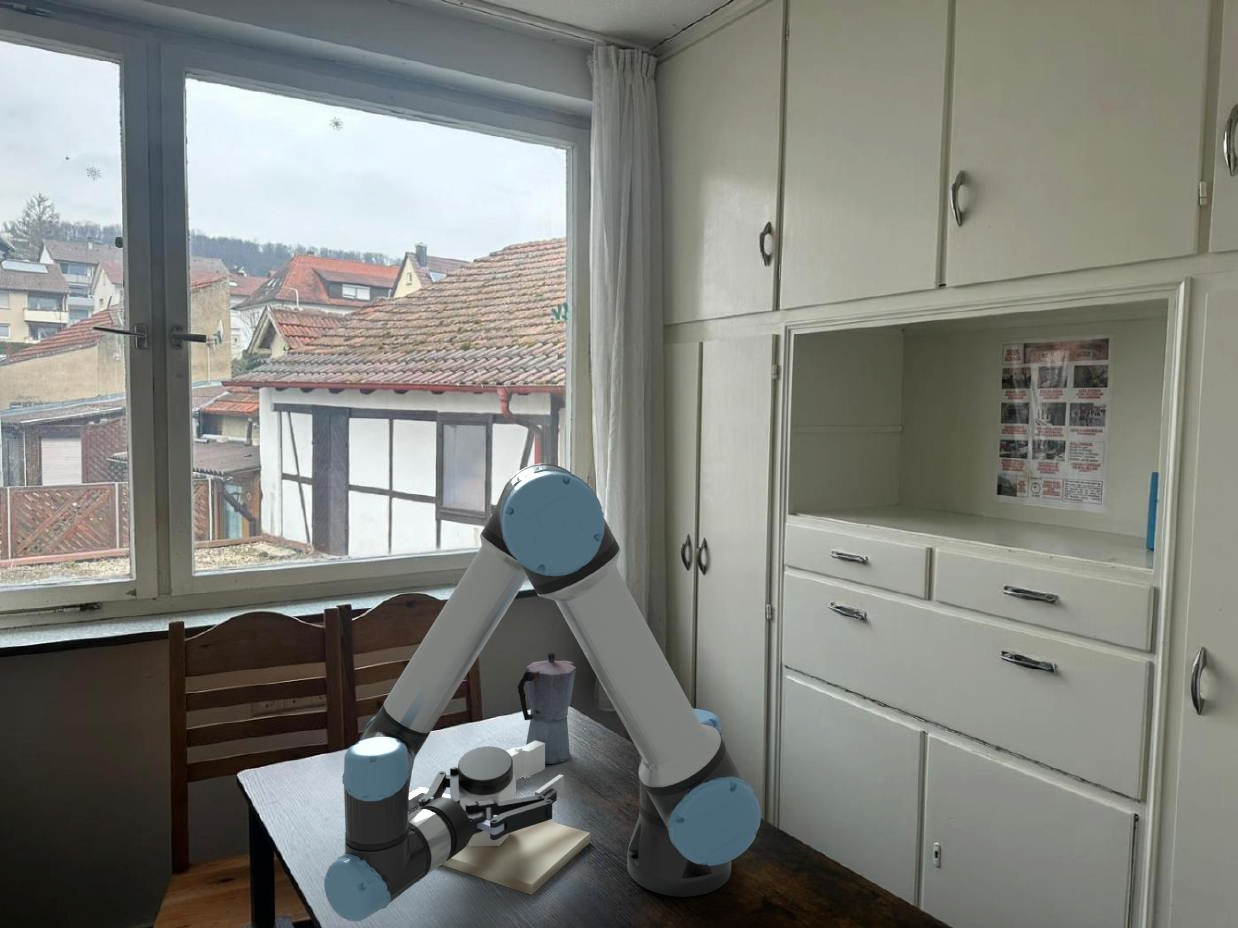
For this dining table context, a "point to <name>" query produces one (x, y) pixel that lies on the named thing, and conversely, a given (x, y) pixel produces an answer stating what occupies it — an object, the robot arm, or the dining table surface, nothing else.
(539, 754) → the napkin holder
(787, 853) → the dining table surface
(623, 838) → the dining table surface
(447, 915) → the dining table surface
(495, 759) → the jar
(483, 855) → the board
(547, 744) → the moka pot
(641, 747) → the robot arm
